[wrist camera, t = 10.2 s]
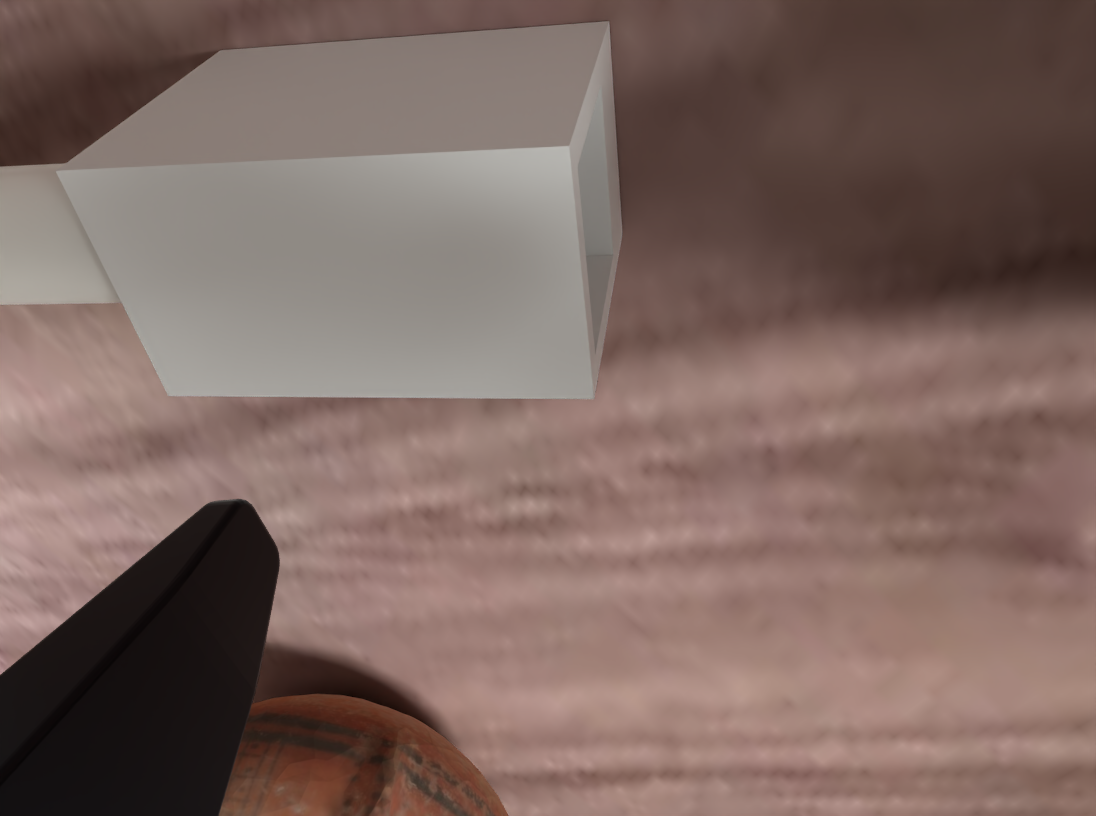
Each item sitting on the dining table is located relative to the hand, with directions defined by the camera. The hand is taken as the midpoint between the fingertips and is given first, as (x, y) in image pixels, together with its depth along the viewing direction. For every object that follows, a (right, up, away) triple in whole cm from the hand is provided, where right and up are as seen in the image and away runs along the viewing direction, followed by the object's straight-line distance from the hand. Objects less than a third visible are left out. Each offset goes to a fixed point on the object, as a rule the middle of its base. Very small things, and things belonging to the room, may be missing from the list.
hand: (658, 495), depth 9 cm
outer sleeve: (-4, +7, +12) cm, 14 cm away
